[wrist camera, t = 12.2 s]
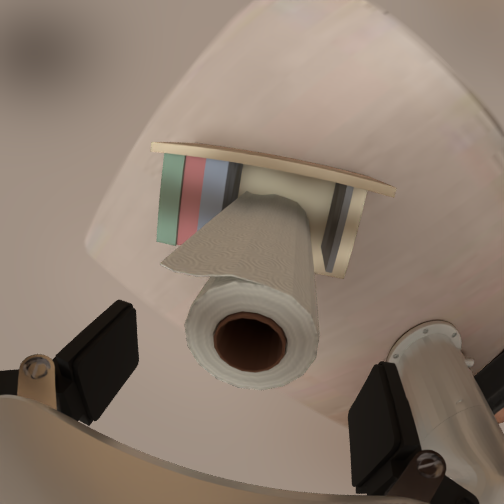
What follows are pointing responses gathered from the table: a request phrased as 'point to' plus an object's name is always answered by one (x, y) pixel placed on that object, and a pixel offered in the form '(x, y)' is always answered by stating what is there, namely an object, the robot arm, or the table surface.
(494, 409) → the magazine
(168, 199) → the book rack
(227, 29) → the table surface
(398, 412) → the robot arm
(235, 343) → the paper towel roll
